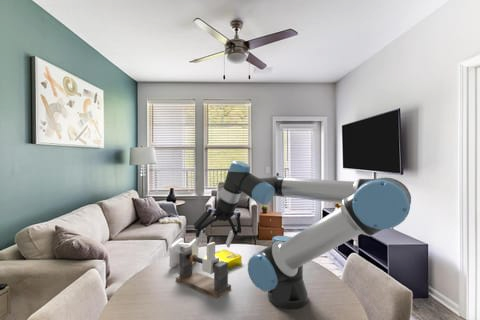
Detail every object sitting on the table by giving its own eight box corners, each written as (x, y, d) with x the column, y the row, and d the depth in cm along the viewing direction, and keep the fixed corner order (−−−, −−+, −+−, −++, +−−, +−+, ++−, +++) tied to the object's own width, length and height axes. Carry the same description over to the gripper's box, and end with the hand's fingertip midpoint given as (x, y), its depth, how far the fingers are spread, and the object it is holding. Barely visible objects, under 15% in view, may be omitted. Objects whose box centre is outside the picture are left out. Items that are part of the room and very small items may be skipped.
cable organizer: (188, 271, 118) (188, 246, 118) (168, 269, 119) (168, 245, 119) (198, 258, 132) (198, 237, 133) (180, 257, 134) (180, 236, 134)
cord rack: (230, 288, 101) (230, 253, 101) (216, 298, 94) (216, 260, 94) (190, 273, 115) (190, 242, 115) (175, 280, 108) (175, 247, 108)
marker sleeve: (219, 269, 102) (219, 242, 102) (211, 274, 98) (211, 246, 98) (210, 266, 105) (210, 240, 105) (202, 271, 101) (202, 243, 101)
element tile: (223, 256, 137) (223, 247, 137) (243, 264, 126) (243, 254, 126) (202, 264, 126) (202, 255, 126) (221, 273, 115) (221, 263, 116)
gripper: (252, 198, 103) (236, 240, 108) (196, 190, 93) (181, 236, 98) (259, 207, 97) (242, 251, 102) (200, 199, 86) (184, 249, 91)
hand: (212, 244), depth 100 cm, fingers open, 13 cm apart
